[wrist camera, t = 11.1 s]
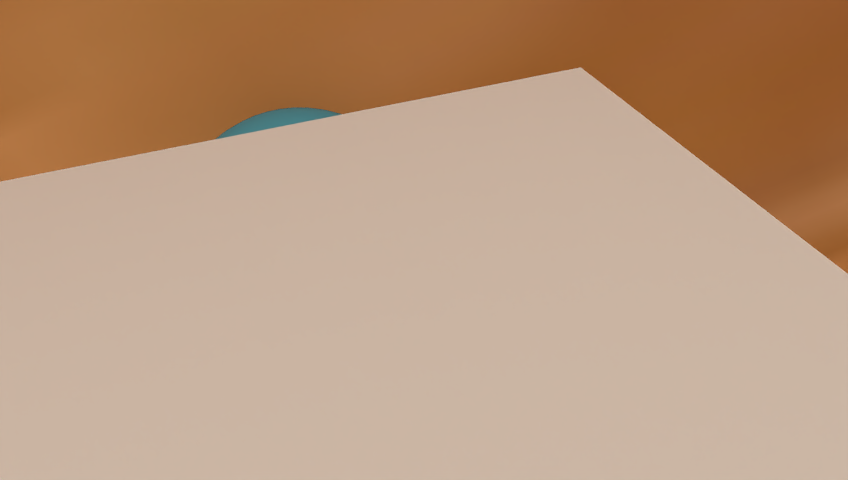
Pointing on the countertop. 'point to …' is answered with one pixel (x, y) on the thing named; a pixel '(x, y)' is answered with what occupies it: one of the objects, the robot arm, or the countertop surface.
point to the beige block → (418, 306)
